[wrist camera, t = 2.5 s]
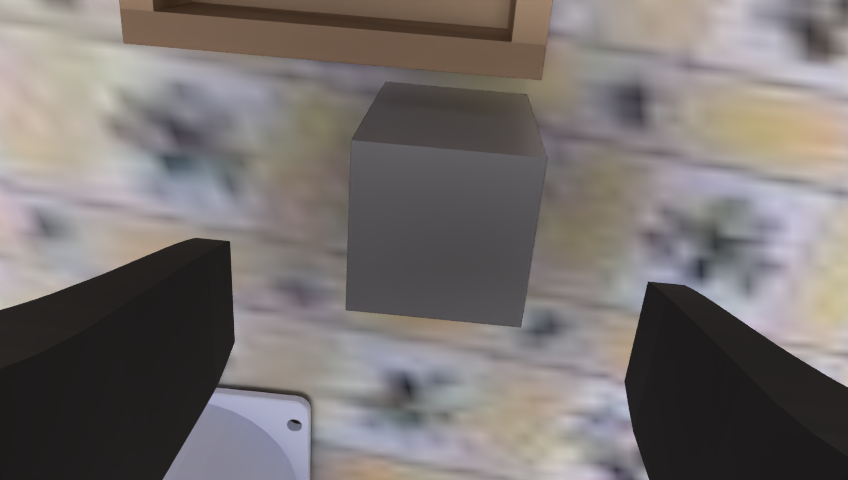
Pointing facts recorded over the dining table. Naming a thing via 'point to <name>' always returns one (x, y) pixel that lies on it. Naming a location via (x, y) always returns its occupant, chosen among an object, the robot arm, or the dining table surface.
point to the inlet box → (355, 31)
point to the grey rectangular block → (444, 204)
